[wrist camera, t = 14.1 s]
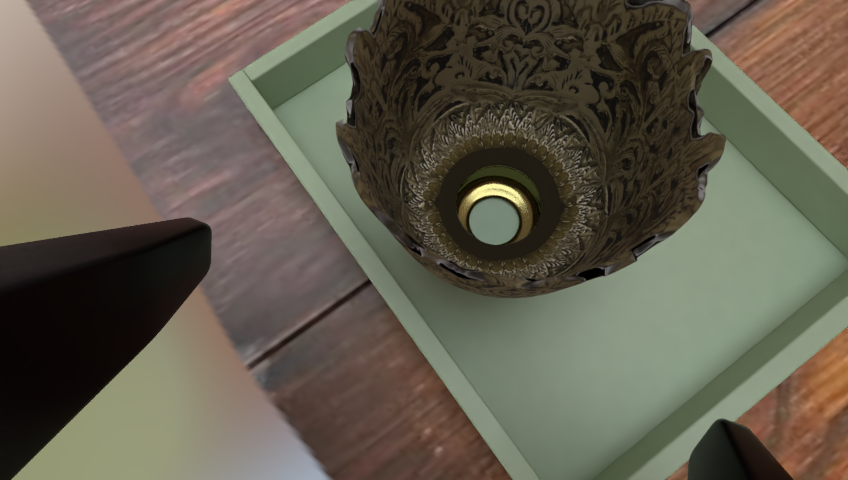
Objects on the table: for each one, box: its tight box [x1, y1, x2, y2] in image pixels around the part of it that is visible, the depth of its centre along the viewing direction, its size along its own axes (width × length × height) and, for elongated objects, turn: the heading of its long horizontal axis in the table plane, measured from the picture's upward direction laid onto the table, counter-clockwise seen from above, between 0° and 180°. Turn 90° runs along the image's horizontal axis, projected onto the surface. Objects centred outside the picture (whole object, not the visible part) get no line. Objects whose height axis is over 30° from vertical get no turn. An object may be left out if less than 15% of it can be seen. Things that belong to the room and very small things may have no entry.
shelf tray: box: [228, 0, 848, 480], centre depth 18 cm, size 13×17×3 cm
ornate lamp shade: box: [336, 0, 726, 298], centre depth 14 cm, size 8×7×8 cm
